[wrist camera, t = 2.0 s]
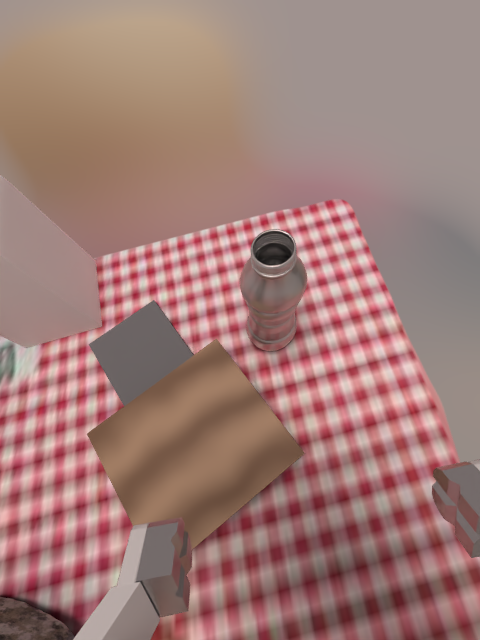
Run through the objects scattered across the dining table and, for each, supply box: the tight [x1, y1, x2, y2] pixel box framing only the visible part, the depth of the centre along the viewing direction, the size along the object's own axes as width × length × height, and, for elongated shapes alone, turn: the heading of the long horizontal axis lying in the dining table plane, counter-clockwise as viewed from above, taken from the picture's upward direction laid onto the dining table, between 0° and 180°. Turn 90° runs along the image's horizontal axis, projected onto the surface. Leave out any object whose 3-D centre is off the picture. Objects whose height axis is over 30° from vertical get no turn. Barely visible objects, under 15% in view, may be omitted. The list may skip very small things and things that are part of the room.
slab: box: [87, 339, 305, 549], centre depth 36 cm, size 16×18×6 cm
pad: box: [89, 300, 194, 406], centre depth 43 cm, size 11×11×1 cm
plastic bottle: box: [240, 229, 307, 351], centre depth 34 cm, size 6×7×20 cm
